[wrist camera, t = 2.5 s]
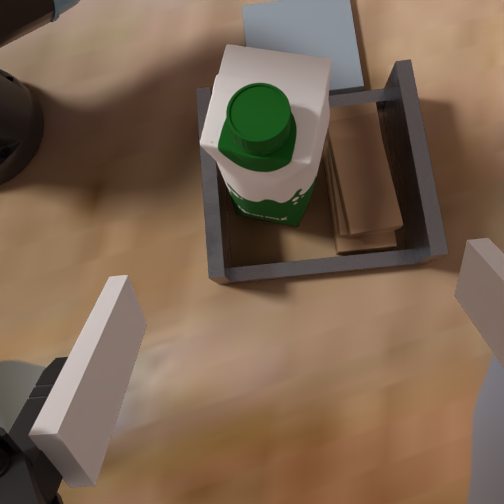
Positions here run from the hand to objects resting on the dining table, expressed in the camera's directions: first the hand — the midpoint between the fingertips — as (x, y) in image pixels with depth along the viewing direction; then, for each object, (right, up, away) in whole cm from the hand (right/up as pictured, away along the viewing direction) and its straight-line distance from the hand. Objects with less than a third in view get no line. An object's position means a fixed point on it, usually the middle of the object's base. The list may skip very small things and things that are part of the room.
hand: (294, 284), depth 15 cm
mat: (+4, +26, +31) cm, 40 cm away
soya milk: (+1, +8, +28) cm, 29 cm away
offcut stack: (+10, +9, +27) cm, 30 cm away
